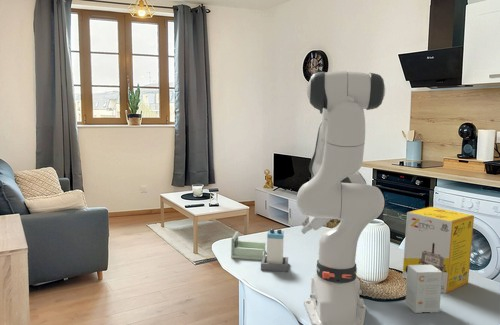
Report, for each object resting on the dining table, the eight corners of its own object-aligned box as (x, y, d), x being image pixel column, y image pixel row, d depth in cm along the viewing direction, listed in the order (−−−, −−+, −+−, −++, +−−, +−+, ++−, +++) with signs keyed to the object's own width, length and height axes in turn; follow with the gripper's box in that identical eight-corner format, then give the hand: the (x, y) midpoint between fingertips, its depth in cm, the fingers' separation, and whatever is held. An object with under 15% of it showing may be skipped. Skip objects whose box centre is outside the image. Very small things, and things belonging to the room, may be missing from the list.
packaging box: (402, 278, 150) (406, 211, 147) (425, 268, 160) (430, 206, 157) (445, 293, 137) (451, 221, 134) (468, 282, 147) (474, 215, 144)
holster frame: (287, 271, 153) (287, 265, 153) (260, 269, 155) (260, 263, 154) (288, 263, 162) (288, 257, 162) (263, 261, 164) (263, 255, 163)
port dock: (262, 260, 165) (262, 241, 164) (231, 257, 167) (231, 239, 166) (265, 250, 177) (265, 232, 176) (236, 248, 179) (236, 230, 178)
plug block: (282, 269, 156) (283, 232, 154) (266, 268, 156) (267, 231, 155) (282, 264, 161) (283, 228, 159) (267, 263, 161) (268, 227, 160)
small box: (428, 303, 130) (431, 264, 128) (439, 312, 124) (443, 271, 122) (404, 303, 129) (407, 264, 128) (414, 313, 123) (417, 272, 121)
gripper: (322, 193, 163) (297, 215, 166) (324, 204, 143) (296, 230, 146) (333, 205, 163) (308, 227, 166) (337, 217, 143) (308, 242, 146)
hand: (302, 228), depth 156 cm, fingers open, 8 cm apart
